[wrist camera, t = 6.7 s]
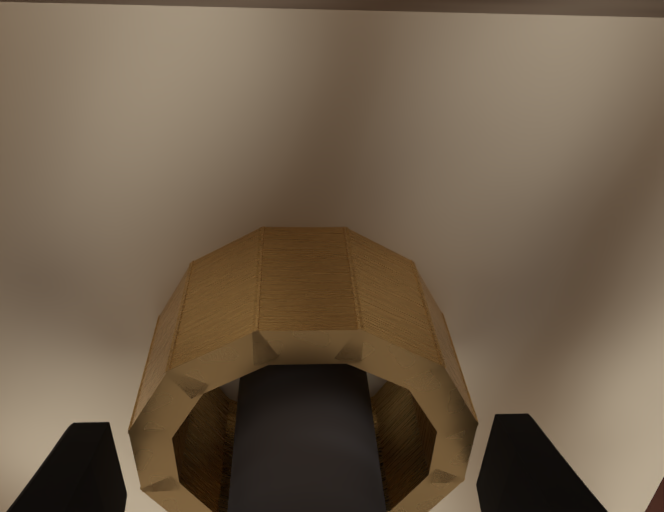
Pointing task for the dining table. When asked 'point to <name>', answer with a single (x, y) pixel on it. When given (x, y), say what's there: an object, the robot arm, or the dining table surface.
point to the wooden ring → (300, 362)
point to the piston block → (339, 218)
